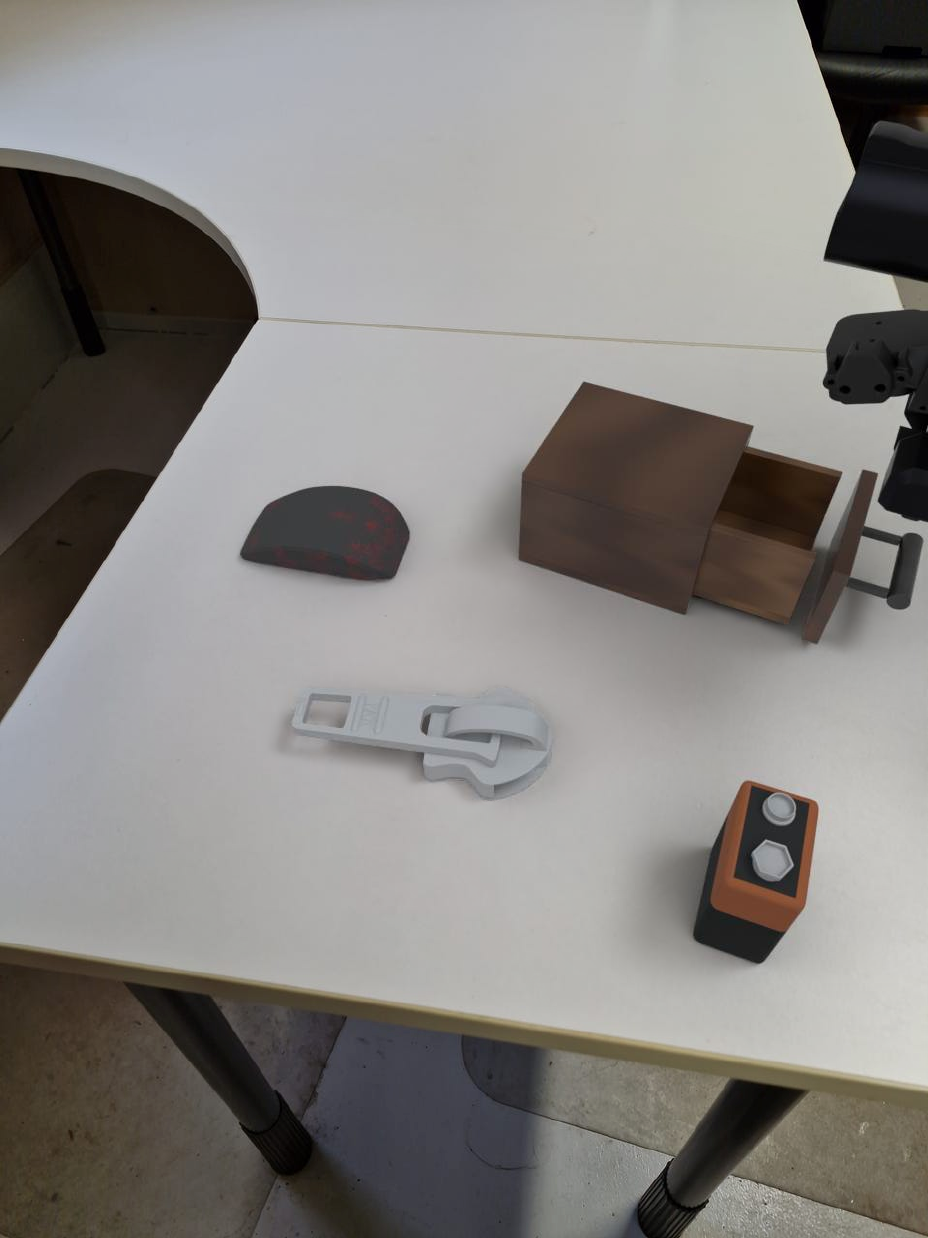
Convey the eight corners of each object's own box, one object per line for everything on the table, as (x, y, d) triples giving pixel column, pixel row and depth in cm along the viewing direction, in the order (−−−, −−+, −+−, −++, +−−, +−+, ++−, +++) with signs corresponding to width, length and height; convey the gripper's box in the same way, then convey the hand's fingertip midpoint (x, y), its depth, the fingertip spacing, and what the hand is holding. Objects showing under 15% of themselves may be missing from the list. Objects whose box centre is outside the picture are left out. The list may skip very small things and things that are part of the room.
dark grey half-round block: (389, 591, 71) (385, 558, 68) (236, 566, 73) (225, 533, 70) (415, 525, 76) (412, 491, 73) (270, 503, 78) (262, 469, 75)
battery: (690, 942, 52) (725, 875, 44) (711, 844, 56) (747, 767, 48) (763, 968, 51) (811, 904, 43) (779, 867, 55) (827, 791, 47)
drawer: (906, 561, 71) (944, 490, 65) (882, 666, 64) (923, 597, 58) (689, 498, 76) (707, 427, 70) (647, 589, 69) (662, 518, 63)
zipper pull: (316, 686, 65) (307, 652, 62) (554, 710, 63) (558, 675, 60) (289, 778, 60) (278, 746, 57) (547, 806, 58) (550, 775, 55)
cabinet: (728, 513, 76) (754, 425, 69) (685, 615, 69) (709, 529, 61) (574, 468, 80) (583, 380, 73) (518, 559, 73) (521, 473, 65)
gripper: (893, 195, 52) (817, 406, 64) (829, 352, 42) (752, 570, 54) (1096, 232, 49) (975, 447, 61) (1081, 412, 39) (939, 630, 51)
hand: (909, 516), depth 57 cm, fingers closed
